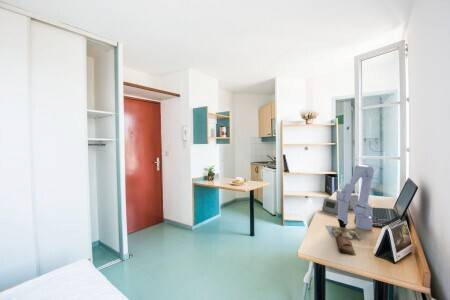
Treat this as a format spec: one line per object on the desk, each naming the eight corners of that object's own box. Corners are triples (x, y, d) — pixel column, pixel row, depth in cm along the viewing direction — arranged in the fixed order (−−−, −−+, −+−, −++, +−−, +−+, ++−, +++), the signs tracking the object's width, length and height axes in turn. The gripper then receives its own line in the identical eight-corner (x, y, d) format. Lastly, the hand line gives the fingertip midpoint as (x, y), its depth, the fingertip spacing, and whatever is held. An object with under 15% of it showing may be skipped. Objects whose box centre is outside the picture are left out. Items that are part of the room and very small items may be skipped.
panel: (354, 233, 144) (355, 228, 144) (360, 240, 134) (360, 235, 134) (331, 231, 147) (331, 226, 147) (335, 237, 137) (335, 232, 137)
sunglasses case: (357, 256, 117) (350, 244, 118) (344, 260, 120) (337, 248, 121) (351, 241, 134) (345, 231, 135) (340, 245, 136) (334, 235, 137)
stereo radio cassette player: (358, 209, 194) (359, 187, 193) (350, 210, 193) (350, 187, 192) (342, 202, 215) (343, 182, 214) (334, 203, 214) (335, 182, 213)
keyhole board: (352, 228, 153) (353, 223, 153) (363, 241, 134) (363, 235, 134) (324, 226, 157) (325, 221, 157) (331, 238, 139) (331, 232, 138)
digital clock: (320, 209, 194) (321, 197, 193) (328, 208, 197) (328, 196, 196) (336, 215, 179) (336, 202, 178) (344, 214, 182) (344, 201, 181)
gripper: (333, 206, 154) (333, 225, 155) (339, 213, 140) (338, 234, 140) (344, 207, 152) (344, 226, 153) (351, 214, 138) (350, 235, 139)
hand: (342, 230), depth 147 cm, fingers closed
